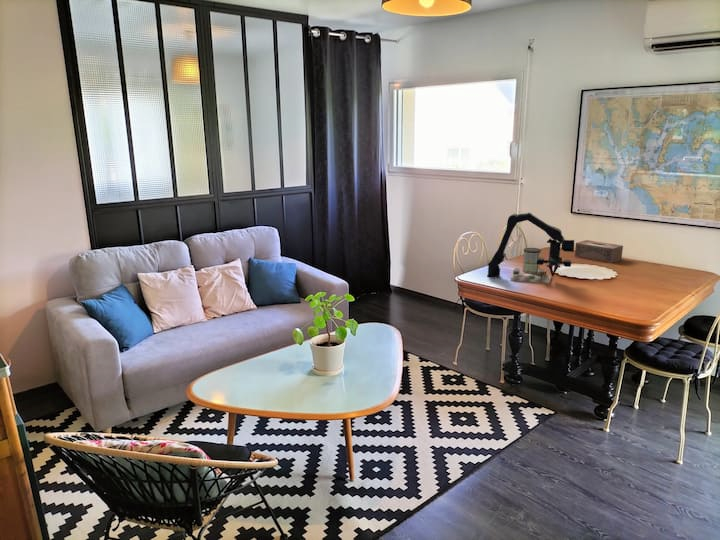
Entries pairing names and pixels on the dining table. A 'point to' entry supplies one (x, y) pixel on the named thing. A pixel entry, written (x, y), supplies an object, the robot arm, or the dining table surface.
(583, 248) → the tissue box cover
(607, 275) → the dining table surface
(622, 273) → the dining table surface
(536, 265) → the coffee can
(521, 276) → the base
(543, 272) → the gauge carriage
